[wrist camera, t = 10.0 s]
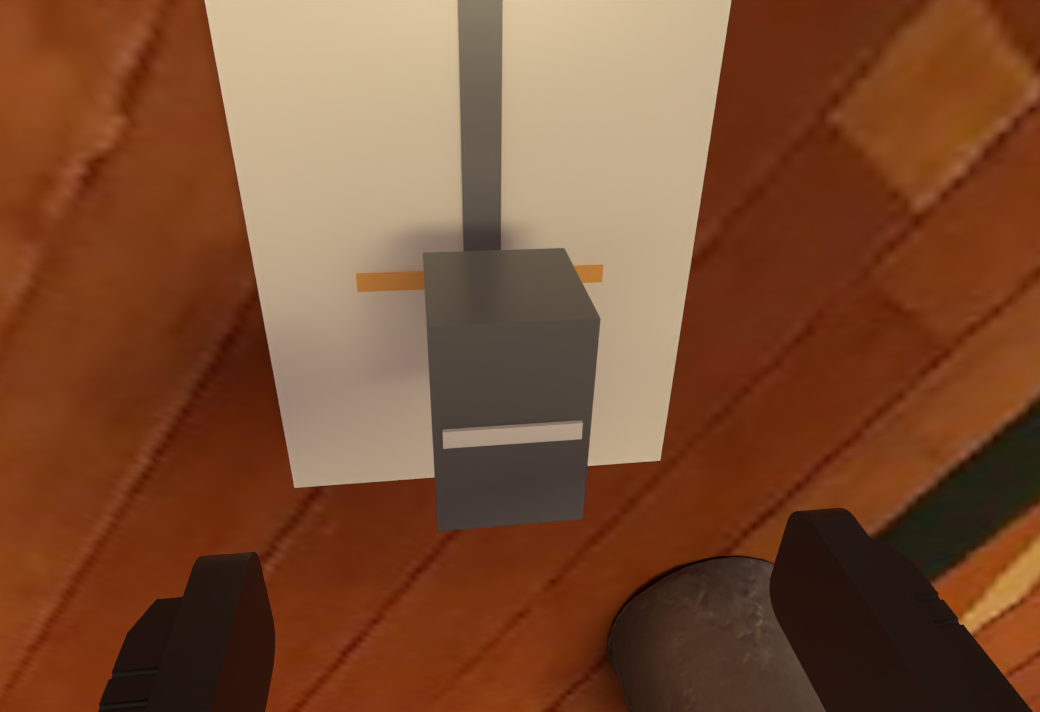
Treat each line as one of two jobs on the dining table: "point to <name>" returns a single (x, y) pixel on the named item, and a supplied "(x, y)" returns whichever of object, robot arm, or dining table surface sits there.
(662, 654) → the pillar candle
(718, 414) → the dining table surface
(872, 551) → the robot arm
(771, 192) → the dining table surface
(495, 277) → the fader
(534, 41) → the dimmer panel
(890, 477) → the dining table surface
